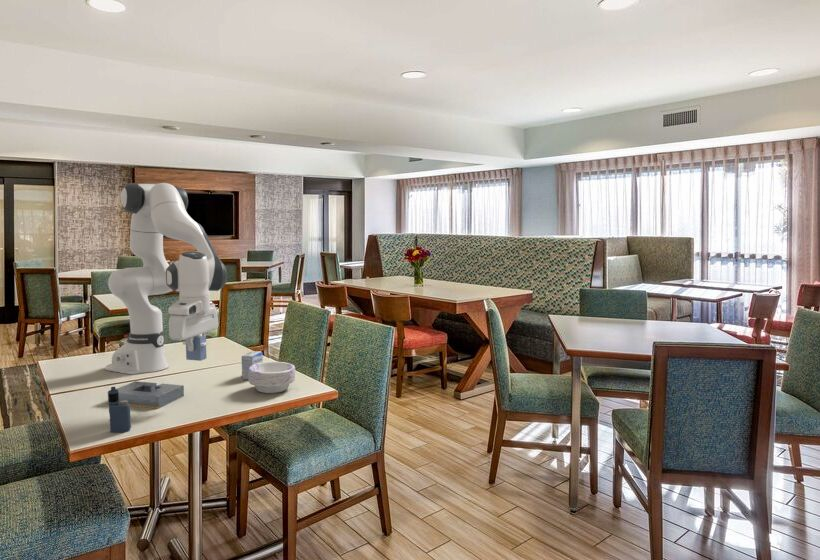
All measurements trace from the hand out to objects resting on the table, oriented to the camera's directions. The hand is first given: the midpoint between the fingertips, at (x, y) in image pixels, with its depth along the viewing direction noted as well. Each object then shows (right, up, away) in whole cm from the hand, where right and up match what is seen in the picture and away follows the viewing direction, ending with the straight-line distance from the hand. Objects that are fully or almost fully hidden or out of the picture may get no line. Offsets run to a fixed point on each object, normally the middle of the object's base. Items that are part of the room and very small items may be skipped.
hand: (196, 349), depth 168 cm
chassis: (-17, -16, +3) cm, 24 cm away
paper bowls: (+20, -16, +16) cm, 30 cm away
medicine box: (+9, -14, +30) cm, 35 cm away
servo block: (0, -3, 0) cm, 3 cm away
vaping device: (-11, -19, -22) cm, 32 cm away
